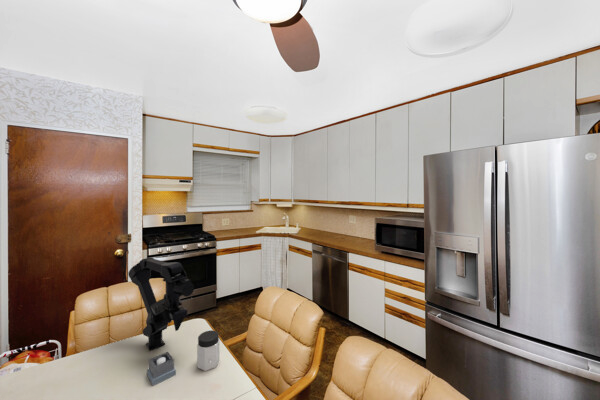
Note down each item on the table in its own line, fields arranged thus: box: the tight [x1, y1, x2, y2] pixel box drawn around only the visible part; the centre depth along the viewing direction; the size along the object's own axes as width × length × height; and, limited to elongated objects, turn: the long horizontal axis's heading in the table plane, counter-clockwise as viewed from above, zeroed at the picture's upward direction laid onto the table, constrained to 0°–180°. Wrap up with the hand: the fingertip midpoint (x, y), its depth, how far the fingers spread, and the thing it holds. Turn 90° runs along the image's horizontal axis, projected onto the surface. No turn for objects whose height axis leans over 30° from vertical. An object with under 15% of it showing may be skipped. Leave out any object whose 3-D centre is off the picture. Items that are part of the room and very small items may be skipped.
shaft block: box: [146, 357, 177, 386], centre depth 97 cm, size 8×8×6 cm
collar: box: [148, 351, 175, 379], centre depth 97 cm, size 7×7×4 cm
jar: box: [196, 330, 220, 372], centre depth 103 cm, size 9×8×12 cm
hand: (173, 326), depth 110 cm, fingers open, 9 cm apart
